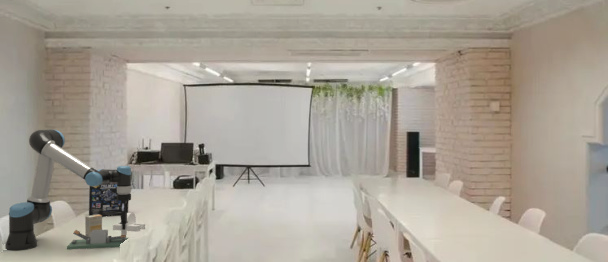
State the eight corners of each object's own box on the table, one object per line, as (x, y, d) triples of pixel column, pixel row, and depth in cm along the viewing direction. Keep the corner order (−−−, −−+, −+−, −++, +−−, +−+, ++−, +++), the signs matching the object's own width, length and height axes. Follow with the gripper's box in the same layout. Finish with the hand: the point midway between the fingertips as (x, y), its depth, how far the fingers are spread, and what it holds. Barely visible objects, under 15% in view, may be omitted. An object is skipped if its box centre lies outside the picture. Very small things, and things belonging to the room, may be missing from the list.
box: (128, 213, 372) (128, 178, 372) (129, 215, 366) (129, 179, 366) (88, 216, 360) (88, 179, 360) (89, 218, 354) (89, 180, 354)
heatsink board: (66, 249, 267) (66, 235, 267) (73, 242, 283) (73, 229, 283) (125, 246, 274) (125, 233, 274) (128, 240, 290) (128, 227, 290)
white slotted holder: (137, 232, 312) (137, 214, 312) (112, 230, 316) (112, 213, 316) (145, 228, 322) (145, 212, 322) (120, 227, 326) (121, 210, 326)
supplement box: (98, 235, 300) (98, 214, 300) (102, 236, 297) (102, 215, 297) (84, 237, 294) (85, 215, 294) (88, 239, 291) (89, 216, 291)
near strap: (90, 240, 280) (92, 237, 280) (88, 242, 275) (90, 239, 275) (74, 232, 278) (76, 229, 278) (72, 234, 273) (74, 231, 273)
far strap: (106, 241, 277) (106, 238, 277) (108, 239, 282) (108, 236, 282) (125, 239, 279) (125, 236, 279) (126, 237, 284) (126, 234, 284)
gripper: (129, 194, 276) (129, 237, 276) (132, 191, 288) (132, 232, 289) (115, 195, 274) (115, 237, 274) (118, 192, 287) (118, 232, 287)
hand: (123, 234), depth 281 cm, fingers closed
